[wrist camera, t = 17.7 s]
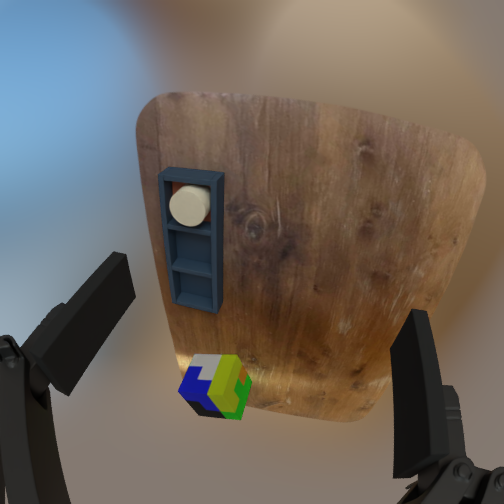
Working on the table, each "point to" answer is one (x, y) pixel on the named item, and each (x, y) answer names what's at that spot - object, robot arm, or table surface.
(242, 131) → the table surface
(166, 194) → the grid
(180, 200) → the cylinder
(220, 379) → the puzzle toy
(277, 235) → the table surface
